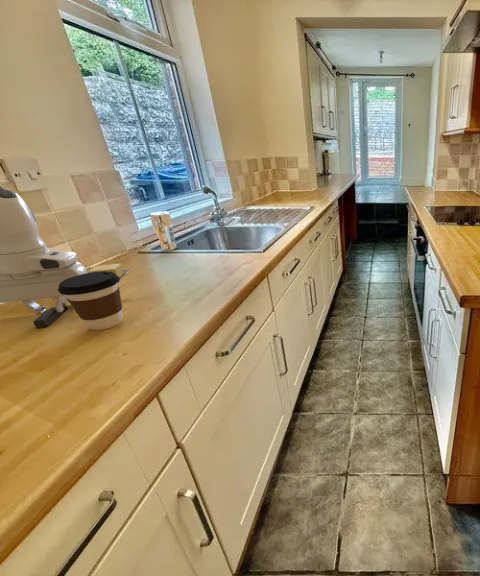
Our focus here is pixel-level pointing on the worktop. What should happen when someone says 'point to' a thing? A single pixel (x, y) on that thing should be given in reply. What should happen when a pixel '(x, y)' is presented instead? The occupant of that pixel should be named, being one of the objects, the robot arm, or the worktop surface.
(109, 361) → the worktop surface
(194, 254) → the worktop surface
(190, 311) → the worktop surface
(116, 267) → the butter block
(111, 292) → the coffee cup
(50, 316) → the knife
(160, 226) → the beer glass
